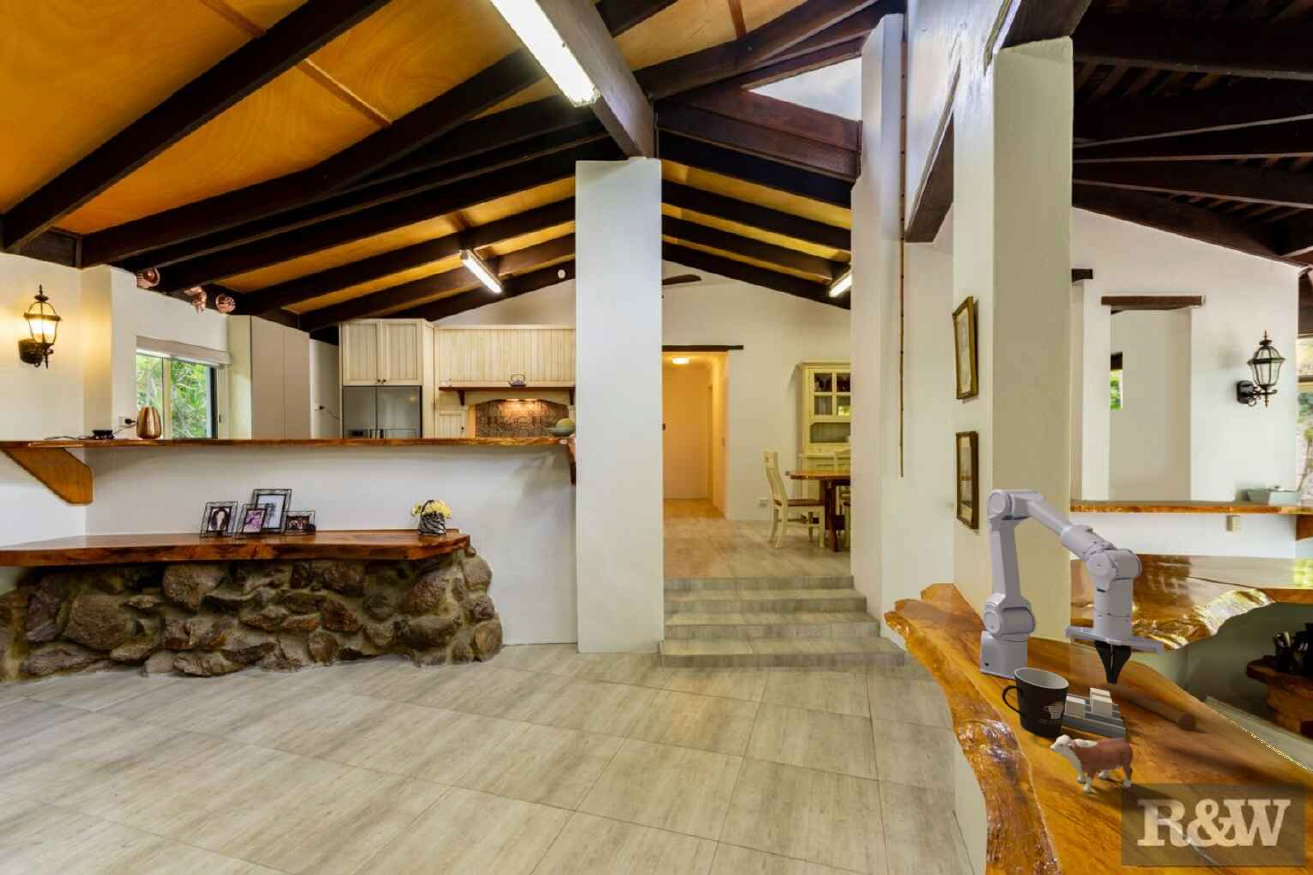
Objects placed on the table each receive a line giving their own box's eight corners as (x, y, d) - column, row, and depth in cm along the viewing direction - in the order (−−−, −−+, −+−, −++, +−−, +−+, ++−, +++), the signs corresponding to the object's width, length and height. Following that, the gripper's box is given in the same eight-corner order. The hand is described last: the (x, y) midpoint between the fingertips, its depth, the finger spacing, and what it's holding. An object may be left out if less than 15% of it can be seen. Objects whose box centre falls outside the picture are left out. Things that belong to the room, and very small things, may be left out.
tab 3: (1092, 715, 108) (1092, 699, 108) (1091, 711, 110) (1091, 694, 110) (1112, 720, 106) (1112, 703, 106) (1110, 715, 108) (1111, 698, 108)
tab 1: (1065, 717, 108) (1066, 700, 107) (1065, 712, 109) (1065, 695, 109) (1085, 721, 106) (1085, 704, 106) (1084, 716, 108) (1084, 699, 108)
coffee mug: (1058, 721, 109) (1058, 671, 108) (1075, 745, 100) (1076, 691, 100) (991, 711, 112) (992, 663, 112) (1002, 733, 104) (1003, 681, 104)
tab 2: (1090, 708, 111) (1091, 691, 111) (1090, 703, 113) (1090, 687, 113) (1110, 712, 109) (1110, 696, 109) (1108, 708, 111) (1109, 691, 111)
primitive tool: (1095, 685, 124) (1096, 670, 124) (1118, 685, 125) (1119, 670, 125) (1182, 733, 105) (1182, 715, 105) (1208, 732, 106) (1209, 714, 105)
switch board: (1058, 724, 107) (1059, 712, 107) (1056, 701, 116) (1056, 690, 116) (1125, 741, 102) (1125, 728, 102) (1117, 715, 111) (1117, 704, 111)
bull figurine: (1044, 778, 91) (1045, 730, 91) (1119, 774, 92) (1120, 726, 92) (1066, 796, 87) (1067, 745, 87) (1144, 791, 88) (1145, 741, 88)
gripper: (1066, 610, 106) (1065, 679, 106) (1167, 626, 97) (1166, 701, 98) (1065, 600, 112) (1064, 666, 112) (1160, 615, 103) (1159, 685, 104)
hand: (1111, 681), depth 105 cm, fingers closed
